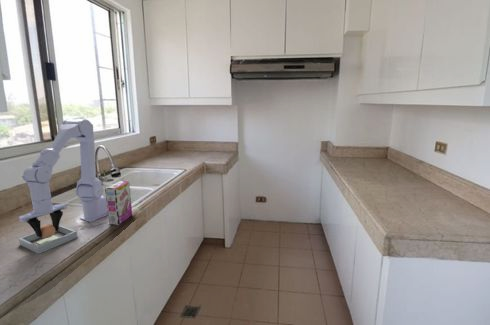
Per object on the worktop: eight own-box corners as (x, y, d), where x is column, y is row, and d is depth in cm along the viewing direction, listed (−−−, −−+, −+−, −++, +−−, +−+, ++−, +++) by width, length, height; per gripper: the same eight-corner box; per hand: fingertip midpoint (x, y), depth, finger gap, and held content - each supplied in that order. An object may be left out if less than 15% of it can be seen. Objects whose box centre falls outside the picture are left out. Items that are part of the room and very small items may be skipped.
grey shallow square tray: (58, 230, 109) (57, 224, 109) (77, 237, 103) (76, 231, 103) (20, 244, 98) (18, 238, 98) (38, 253, 92) (37, 247, 91)
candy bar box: (119, 225, 113) (115, 188, 109) (108, 225, 113) (103, 188, 110) (133, 215, 124) (129, 180, 120) (123, 214, 124) (119, 180, 121)
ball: (52, 233, 104) (50, 221, 103) (58, 236, 101) (57, 223, 100) (37, 238, 100) (35, 225, 99) (43, 241, 97) (41, 229, 96)
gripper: (57, 191, 105) (62, 223, 108) (12, 203, 93) (19, 239, 96) (67, 194, 102) (72, 227, 105) (21, 206, 89) (29, 243, 92)
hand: (48, 233), depth 100 cm, fingers closed on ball, 5 cm apart
